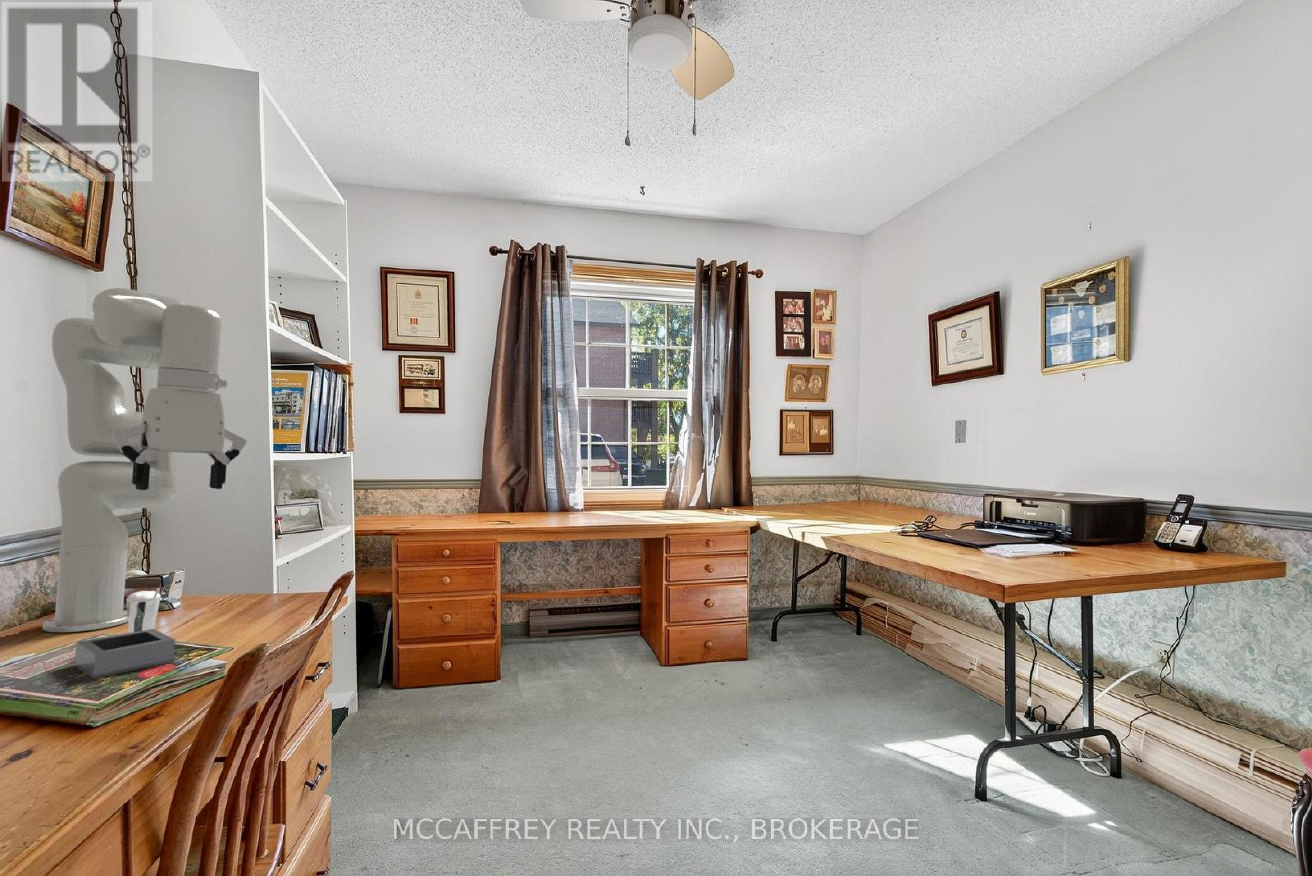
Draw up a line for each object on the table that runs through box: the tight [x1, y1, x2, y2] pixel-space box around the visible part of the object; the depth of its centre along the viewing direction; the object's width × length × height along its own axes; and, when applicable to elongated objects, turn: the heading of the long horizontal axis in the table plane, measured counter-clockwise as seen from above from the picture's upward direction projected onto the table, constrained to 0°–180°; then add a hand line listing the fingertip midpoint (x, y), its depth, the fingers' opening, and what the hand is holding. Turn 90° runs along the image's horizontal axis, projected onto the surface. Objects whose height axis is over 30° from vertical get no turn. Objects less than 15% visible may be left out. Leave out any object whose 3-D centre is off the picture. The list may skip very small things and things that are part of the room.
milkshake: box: [126, 587, 162, 633], centre depth 103 cm, size 4×5×10 cm
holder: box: [74, 629, 176, 680], centre depth 93 cm, size 10×10×4 cm
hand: (180, 488), depth 94 cm, fingers open, 9 cm apart
